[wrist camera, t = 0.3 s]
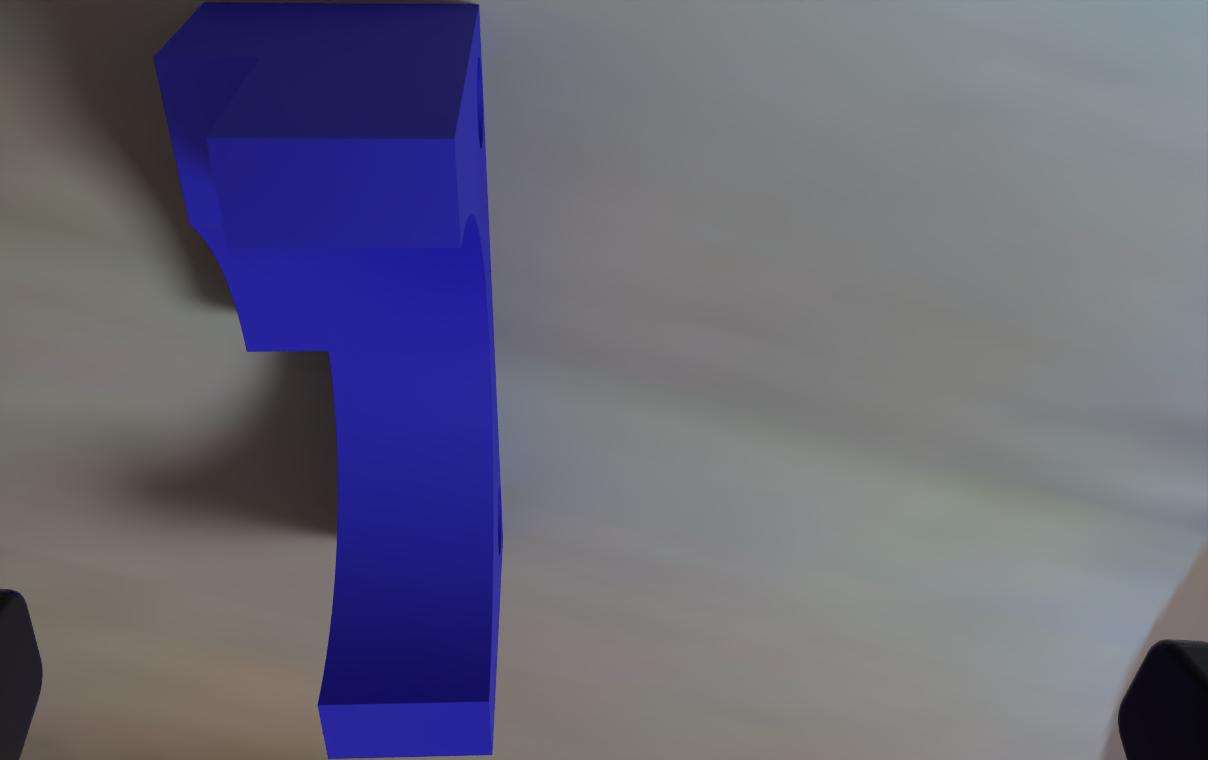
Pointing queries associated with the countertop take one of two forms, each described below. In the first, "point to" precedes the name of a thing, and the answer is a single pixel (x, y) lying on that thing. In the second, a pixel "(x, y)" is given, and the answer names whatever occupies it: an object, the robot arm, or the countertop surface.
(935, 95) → the countertop surface
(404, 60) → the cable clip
